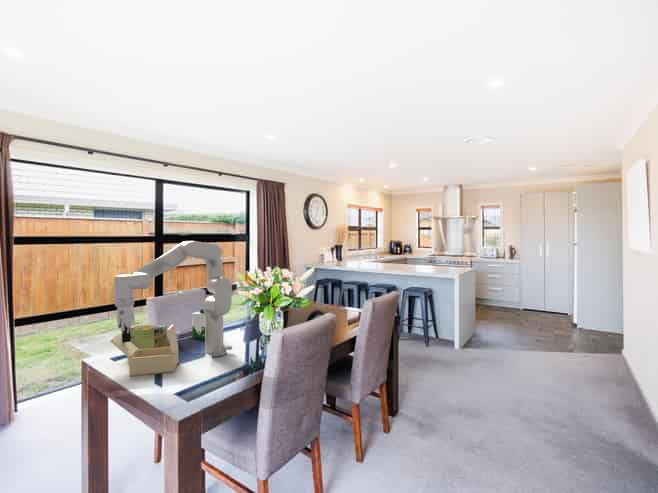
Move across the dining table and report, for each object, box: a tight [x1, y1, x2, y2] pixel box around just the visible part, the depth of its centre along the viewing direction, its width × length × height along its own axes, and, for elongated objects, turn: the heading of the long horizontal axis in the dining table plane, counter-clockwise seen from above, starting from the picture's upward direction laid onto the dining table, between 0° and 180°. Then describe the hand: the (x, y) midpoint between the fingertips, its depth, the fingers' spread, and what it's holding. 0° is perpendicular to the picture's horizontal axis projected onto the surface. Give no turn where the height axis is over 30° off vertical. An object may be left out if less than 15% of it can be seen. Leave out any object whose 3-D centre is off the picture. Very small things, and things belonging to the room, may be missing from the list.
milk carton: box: [191, 308, 205, 340], centre depth 219 cm, size 9×9×20 cm
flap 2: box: [167, 323, 179, 353], centre depth 164 cm, size 1×12×11 cm, turn 15°
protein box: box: [127, 324, 168, 359], centre depth 181 cm, size 10×15×16 cm
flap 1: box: [109, 332, 138, 358], centre depth 159 cm, size 1×12×11 cm
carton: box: [128, 346, 179, 377], centre depth 162 cm, size 18×14×8 cm
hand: (126, 341), depth 159 cm, fingers closed
